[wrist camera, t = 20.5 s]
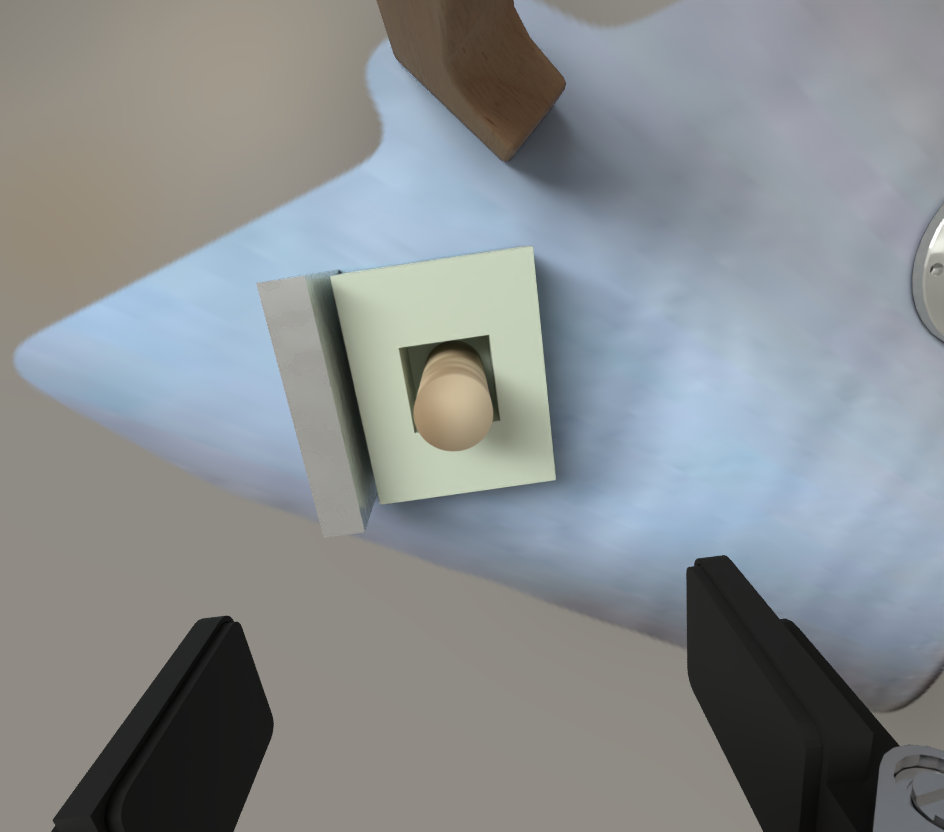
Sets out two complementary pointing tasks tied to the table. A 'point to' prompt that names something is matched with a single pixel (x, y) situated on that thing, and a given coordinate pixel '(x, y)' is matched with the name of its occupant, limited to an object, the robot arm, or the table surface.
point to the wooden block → (476, 65)
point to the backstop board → (321, 398)
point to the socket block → (404, 356)
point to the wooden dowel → (453, 398)
